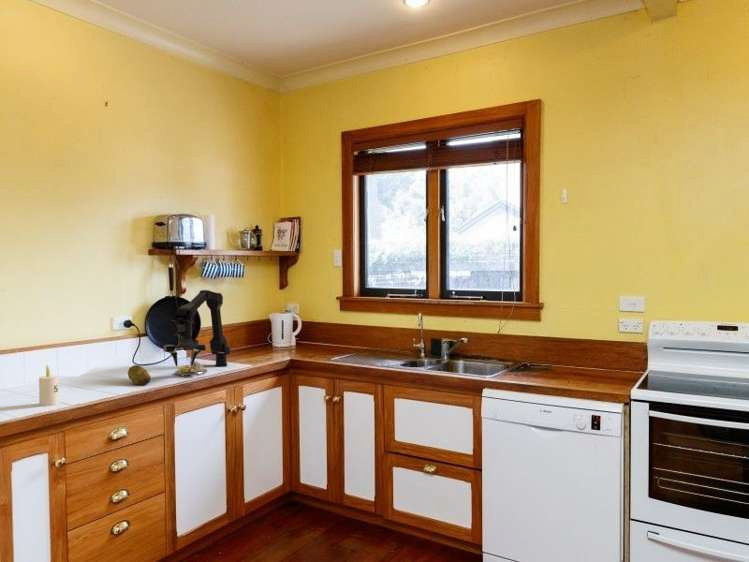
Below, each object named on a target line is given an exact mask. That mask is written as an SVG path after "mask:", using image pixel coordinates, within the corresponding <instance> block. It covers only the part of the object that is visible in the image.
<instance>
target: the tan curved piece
mask: <svg viewBox="0 0 749 562" xmlns="http://www.w3.org/2000/svg"><path fill="white" fill-rule="evenodd" d="M188 367H190V368H188ZM203 369H205V368H204V365H203V364H202V363H201V362H199V361H198V362H197V361H196V360H194V363H193V365H191V360H190V364H186V365H181V366H179V367H178V370H179V371H181V372H197V371H201V370H203Z"/></svg>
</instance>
